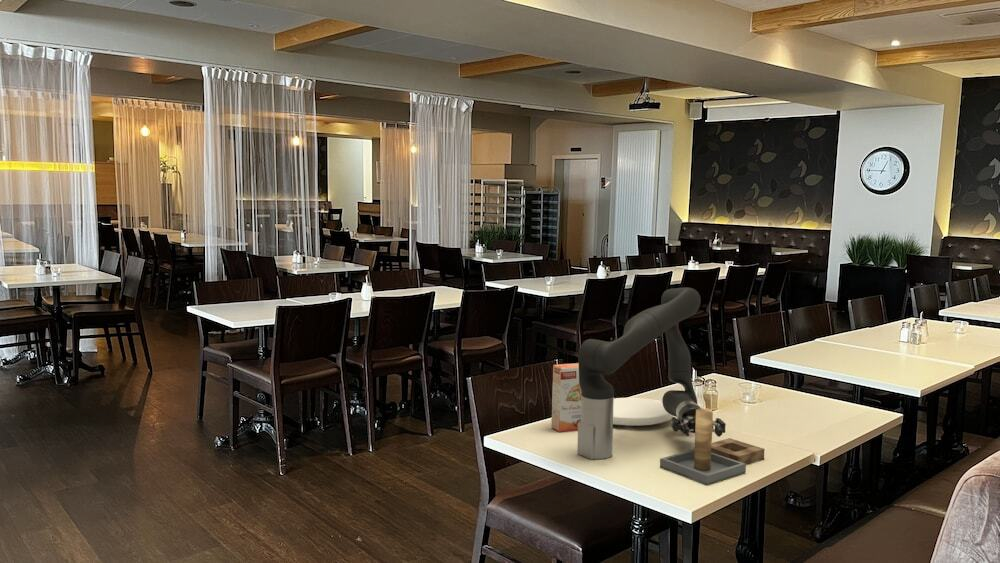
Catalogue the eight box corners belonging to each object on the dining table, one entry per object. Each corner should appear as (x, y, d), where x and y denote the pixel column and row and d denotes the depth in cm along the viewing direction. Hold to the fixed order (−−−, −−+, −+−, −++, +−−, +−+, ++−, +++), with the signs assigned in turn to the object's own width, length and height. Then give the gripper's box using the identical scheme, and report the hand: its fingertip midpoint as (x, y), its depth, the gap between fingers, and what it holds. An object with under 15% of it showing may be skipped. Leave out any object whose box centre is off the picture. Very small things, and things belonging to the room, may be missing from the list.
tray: (707, 485, 191) (707, 475, 191) (659, 467, 204) (660, 458, 204) (745, 472, 200) (745, 463, 200) (698, 456, 213) (698, 448, 213)
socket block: (737, 467, 205) (738, 456, 205) (702, 455, 215) (703, 445, 214) (764, 459, 212) (764, 448, 212) (728, 447, 222) (729, 438, 221)
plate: (590, 415, 239) (588, 395, 265) (592, 434, 239) (590, 413, 266) (678, 409, 236) (668, 389, 262) (680, 429, 236) (669, 407, 263)
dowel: (703, 472, 199) (705, 413, 198) (690, 467, 203) (692, 410, 201) (714, 468, 202) (716, 411, 200) (701, 464, 205) (703, 407, 204)
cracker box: (559, 433, 235) (560, 367, 233) (550, 427, 240) (551, 364, 238) (598, 428, 240) (599, 364, 238) (588, 423, 246) (589, 361, 244)
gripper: (666, 403, 217) (677, 418, 201) (716, 404, 217) (730, 419, 201) (665, 428, 218) (676, 445, 202) (715, 429, 217) (729, 446, 201)
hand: (703, 432), depth 201 cm, fingers open, 8 cm apart
